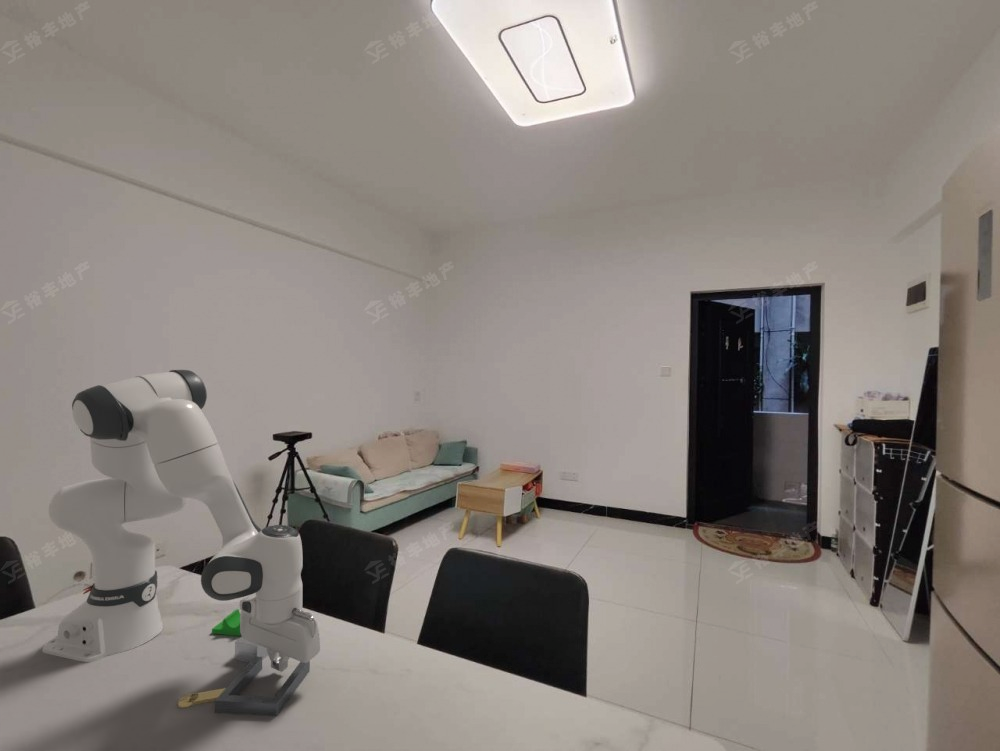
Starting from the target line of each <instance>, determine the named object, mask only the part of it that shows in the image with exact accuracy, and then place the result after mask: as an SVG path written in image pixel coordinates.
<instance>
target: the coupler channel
mask: <svg viewBox="0 0 1000 751" xmlns="http://www.w3.org/2000/svg"><path fill="white" fill-rule="evenodd" d="M310 661H311V660H310ZM310 661H308V662H307V663H303V662H300V661H299V663H298V665H297V666H296V667H295V668H294V670H293V671H292V673H291V674H290V675H289V676H288V677H287V679H286V680H285V681H284V683H283V685H281V687H280V689H279V690H278V691H277V692H276V693H275V695H274V696H272V697H271V696H253V695H241V693H242V692H244V690H245V689H246V688H247V686H249V685H250V684H251V682H252V681H253V680H254V679H255V678H256V677H257V676H258V674H259V673H260V672H261V671H262V670H263V660H262V657H255V658H254V659H253V660H252V661H251V662H250V663H249V662H248V664H247V665H246V666H245V667H244V668H243V669H242V671H240V673H238V675H237V676H236V677H235V678H234V679H233V680H232V681H231V682H230V683H229V684H228V686H227V687H225V688H226V689H225V690H224V691H223V692H222V693H221V694H220V695H219V696H218V698H217V699H216V700H215V701H214V714H227V715H229V714H230V715H249V716H264V717H265V716H266V715H267V716H268V717H269V716H270V717H278V715H279V714H280V712H281V711H282V710H283V708H284V707H285V706H286V704H288V702H289V700H290V699H291V697H292V696H293V694H294V693H295V692H296V690H298V688H299V687H300V685H301V684H302V682H303V681H304V680H305V679H306V677H307V675H308V674H309V673H310V668H311V667H310V665H311V664H310V663H311V662H310Z"/></svg>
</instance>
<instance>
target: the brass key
mask: <svg viewBox="0 0 1000 751" xmlns="http://www.w3.org/2000/svg"><path fill="white" fill-rule="evenodd" d="M226 688H227V687H223V688H219V689H218V688H217V689H211V690H207V691H202V692H194V691H193V692H190V693H189V692H188V693H186V694H184V695H183V696H181V697H180V698H179V699H178V703H177V706H178V708H180V709H185V708H189V707H191V706H195V705H200V704H206V703H210V702H215V700H216V699H217V698H218V696H219V695H220V694H221V693H222V692H223V691H224V690H225V689H226Z"/></svg>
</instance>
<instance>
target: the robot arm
mask: <svg viewBox="0 0 1000 751" xmlns="http://www.w3.org/2000/svg"><path fill="white" fill-rule="evenodd" d="M207 397H208V394H207V387H206V385H205V383H204V381H203V380H202V378H201V377H200V376H199V375H198V374H196V373H195V372H193V371H192V370H188V369H170V370H169V371H164V372H163V371H162V372H155V373H147V374H141V375H136V376H134V377H130V378H125V379H122V380H118V381H114V382H111V383H107V384H104V385H95V386H92V387H89V388H86V389H84V390H82V391H80V392H78V393H76V395H75V397H74V398H73V401H72V402H71V403H72V404H71V409H72V410H71V411H72V417H73V420H74V423H75V424H76V426H77V427H78V429H79V430H80V432H81V433H83V435H85V436H86V437H89V438H90V439H89V440H90V441H89V442H90V454H91V455H90V457H91V464H92V465H93V467H94V468H95V469H96V470H97V471H98V472H99V473H101V474H102V475H104V476H106V477H107V478H106V477H105V478H96V479H88V480H84V481H80V482H77V483H72V484H70V485H64V486H63V487H61V488H60V489H59V490H58V491H57V492H56V493H55V494H54V495H53V497H52V498H51V500H50V503H49V505H48V516H49V520H51V522H52V524H54V526H56V527H58V528H59V529H61V530H62V531H66V532H68V533H71V534H73V535H75V536H76V537H78V538H79V539H81V541H83V542H84V544H85V545H86V546H87V547H88V549H89V551H90V553H91V557H92V562H93V574H94V583H92V585H89V586H88V587H86V588H84V589H82V591H84V592H83V593H82V594H83V595H85V594H87V593H89V595H88V596H87V599H86V600H85V601H84V602H83V603H81V604H80V605H78V606H77V607H76V608H74V609H73V610H72V611H71V612H69V613H68V614H67V615H65V617H63V619H61V621H60V623H59V624H58V630H57V635H56V636H54V637H53V638H52V639H50V640H49V641H48V642H46V644H45V645H44V646H43V647H42V650H41V651H42V653H43V654H46V655H51V656H57V657H60V658H65V659H70V660H72V661H73V660H74V661H79V662H83V663H92V662H95V661H98V660H102V659H103V658H105V657H109V656H113V655H116V654H121V653H124V652H127V651H130V650H132V649H136V648H137V647H140V646H141V645H144V644H146V643H148V642H149V641H151V640H152V639H154V638H156V636H158V635H159V634H160V633H161V632H162V630H163V629H164V623H163V620H162V615H161V614H162V613H161V611H160V609H159V608H160V607H159V602H158V595H157V589H158V572H157V571H158V570H156V544H155V542H154V541H153V539H152V538H150V536H149V537H148V536H146V535H144V534H140V533H137V532H131V531H128V530H126V528H124V527H123V524H127V523H132V522H138V521H144V520H152V519H158V518H163V517H165V516H168V515H171V514H175V513H178V512H181V511H182V510H184V509H185V508H186V506H187V505H188V504H189V502H190V500H191V499H193V500H197V501H199V502H201V503H203V504H204V505H205V506H206V507H207V508H208V510H209V511H210V513H211V516H212V518H213V520H214V521H215V524H216V526H217V528H218V531H219V532H220V534H221V536H222V544H221V548H220V549H219V551H218V552H216V553H215V554H214V555H213V557H212V558H211V559H210V561H209V562H208V563H207V564H206V565H205V567H204V568H203V570H202V572H201V576H200V584H201V587H202V590H203V591H204V593H205V594H206V595H207V596H208V597H210V598H211V599H213V600H216V601H221V602H224V601H226V602H227V601H231V600H235V599H240V598H243V599H241V600H240V601H239V610H240V611H241V612H240V632H241V635H242V636H241V637H243V639H245V640H248V641H250V642H253V643H255V644H258V645H260V646H263V647H265V648H267V653H268V657H269V660H270V667H271V669H274V670H276V671H278V672H280V673H282V672H284V671H285V670H287V668H288V667H289V664H288V663H289V659H290V658H291V659H292V660H295V661H298V662H299V663H300V662H303V663H307V662H308V661H311V660H313V659H314V658H315V657H316V656H317V655H318V654H319V652H320V651H321V639H320V631H319V625H318V622H317V621H316V619H315V618H314V617H313V614H312V613H311V612H308V611H305V610H303V597H304V596H303V591H304V590H303V586H304V585H303V581H302V576H301V574H302V570H303V566H304V565H303V560H304V559H303V558H304V557H303V545H302V544H303V543H302V539H301V538H302V537H301V534H300V533H299V531H298V530H297V529H296V528H294V527H292V526H289V525H286V524H285V525H283V524H274V525H269V526H266V527H264V528H262V529H261V528H260V527H259V526H258V525H257V524H256V522H255V521H254V520H253V518H252V516H251V514H250V511H249V510H248V508H247V506H246V503H245V501H244V499H243V497H242V495H241V492H240V491H239V488H238V487H237V486H238V485H236V483H235V481H234V480H233V477H232V474H231V472H230V471H229V468H228V465H227V463H226V459H225V456H224V454H223V451H222V449H221V446H220V444H219V441H218V438H217V436H216V434H215V432H214V430H213V428H212V426H211V424H210V422H209V420H208V418H207V417H206V415H205V414H204V412H203V411H202V410H203V408H204V407H205V405H206V402H207V399H208V398H207ZM244 597H245V598H244Z"/></svg>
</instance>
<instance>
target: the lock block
mask: <svg viewBox="0 0 1000 751" xmlns="http://www.w3.org/2000/svg"><path fill="white" fill-rule="evenodd" d="M255 657H262V661H263V660H265V659H266V658H267V657H269V655H268V653H267V648H265V647H263V646H260V645H258V644H255V643H253V642H250V641H248V640H245V639H243V637H242V636H240V637H239V638H237V639H236V640H235V641H234V660H235V661H241V662H245V663H248V664H249V663H250V662H251V661H252V660H253V659H254V658H255Z"/></svg>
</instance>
